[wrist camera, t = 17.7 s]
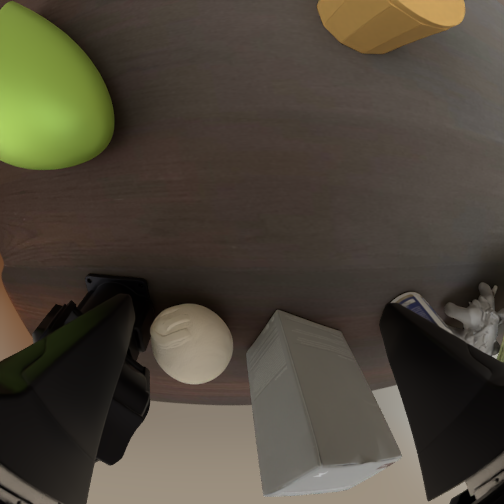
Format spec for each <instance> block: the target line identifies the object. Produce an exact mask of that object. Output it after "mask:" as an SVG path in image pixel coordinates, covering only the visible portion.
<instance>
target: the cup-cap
mask: <svg viewBox="0 0 504 504" xmlns="http://www.w3.org/2000/svg"><path fill="white" fill-rule="evenodd" d="M317 9H318V12H319V15H320V17H321V20H322V23H323V25H324V27H325V28H326V29H327V30H328V31H329V32H330V33H331V34H332V35H333V36H334V37H335V38H336V39H337V40H338V41H339V42H340V43H341V44H344V45H346V46H348V47H350V48H352V49H354V50H356V51H358V52H361V53H363V54H384V53H387V52H389V51H391V50H394V49H396V48H399V47H401V46H404V45H406V44H409V43H411V42H414V41H416V40H419V39H422V38H425V37H427V36H430V35H433V34H436V33H439V32H442V31H445V30H447V29H449V28H451V27H453V26H456V25H458V24H460V23H461V22H462V20H463V19H464V16H465V4H464V0H319V1H318V4H317Z"/></svg>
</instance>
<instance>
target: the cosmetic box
mask: <svg viewBox="0 0 504 504" xmlns="http://www.w3.org/2000/svg"><path fill="white" fill-rule="evenodd" d="M246 357H247V367H248V376H249V384H250V394H251V402H252V410H253V419H254V427H255V435H256V444H257V451H258V459H259V467H260V475H261V481H262V489H263V496H265V497H266V496H267V497H268V496H269V497H271V496H295V495H307V494H319V493H328V492H337V491H344V490H347V489H350V488H351V487H353V486H356V485H357V484H359V483H361V482H363V481H365V480H366V479H368V478H370V477H372V476H373V475H375V474H377V473H378V472H380V471H382V470H384V469H385V468H387V467H388V466H390V465H391V464H393V463H395V462H396V461H398V460H399V459H401V457H402V455H401V452H400V450H399V448H398V445H397V443H396V441H395V439H394V437H393V435H392V433H391V431H390V428H389V427H388V424H387V422H386V420H385V418H384V416H383V414H382V412H381V409H380V408H379V406H378V404H377V401H376V399H375V397H374V396H373V393H372V391H371V389H370V387H369V385H368V383H367V381H366V379H365V377H364V375H363V373H362V371H361V369H360V367H359V365H358V363H357V361H356V359H355V357H354V355H353V354H352V352H351V350H350V348H349V346H348V344H347V342H346V340H345V338H344V336H343V334H342V332H341V331H338V330H335V329H332V328H329V327H326V326H323V325H320V324H317V323H314V322H311V321H308V320H306V319H303V318H300V317H297V316H295V315H292V314H289V313H286V312H283V311H281V310H276V311H275V313H274V314H273V316H272V317H271V319H270V320H269V322H268V323H267V325H266V326H265V328H264V329H263V331H262V332H261V333H260V335H259V336H258V338H257V339H256V341H255V342H254V343H253V345H252V346H251V347H250V348H249V350H248V352H247V353H246Z"/></svg>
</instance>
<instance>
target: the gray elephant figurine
mask: <svg viewBox="0 0 504 504" xmlns="http://www.w3.org/2000/svg"><path fill="white" fill-rule="evenodd" d="M479 291H480V294H481V296H479V298H478V300H476V299H475V300H473V301H472V303H471V302H469V305H470V306H468V307H467V308H464V307H460V306H456V305H455V304H454V303H452V302H449V303H447V304H446V305H445V308H444V311H445V313H446V315H448V316H449V317H452V318H455V319H457V320H459V321H461V322H462V323H463V324H464V325H463V328H464V330H463V329H459V328H455V327H452V326H449V325H447V327H448V328H449V329H450V330H451V332H452V333H453V335H455V336H457V337H458V338H460V339H462V340H463V341H465V342H466V343H469V344H470V345H472V346H474V347H475V348H477V349H479V350H481V351H482V352H484V353H486V354H488V355H490V356H492V355H496V354H498V353H499V351H500V348H501V347H500V345H499V343H498V342H497V341H496V337H497V336H498V335H497V332H498V326H499V325H501V324H502V323H503V322H504V308H502V309H500V310H499V311H498V312H495V310H494V309H495V303H494V298H493V294H492V291H491V288H490V286H489V285H488V284H486V283H484V282H481V283H480V284H479ZM499 317H500V318H501V320H500V322H499ZM498 322H499V323H498Z"/></svg>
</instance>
